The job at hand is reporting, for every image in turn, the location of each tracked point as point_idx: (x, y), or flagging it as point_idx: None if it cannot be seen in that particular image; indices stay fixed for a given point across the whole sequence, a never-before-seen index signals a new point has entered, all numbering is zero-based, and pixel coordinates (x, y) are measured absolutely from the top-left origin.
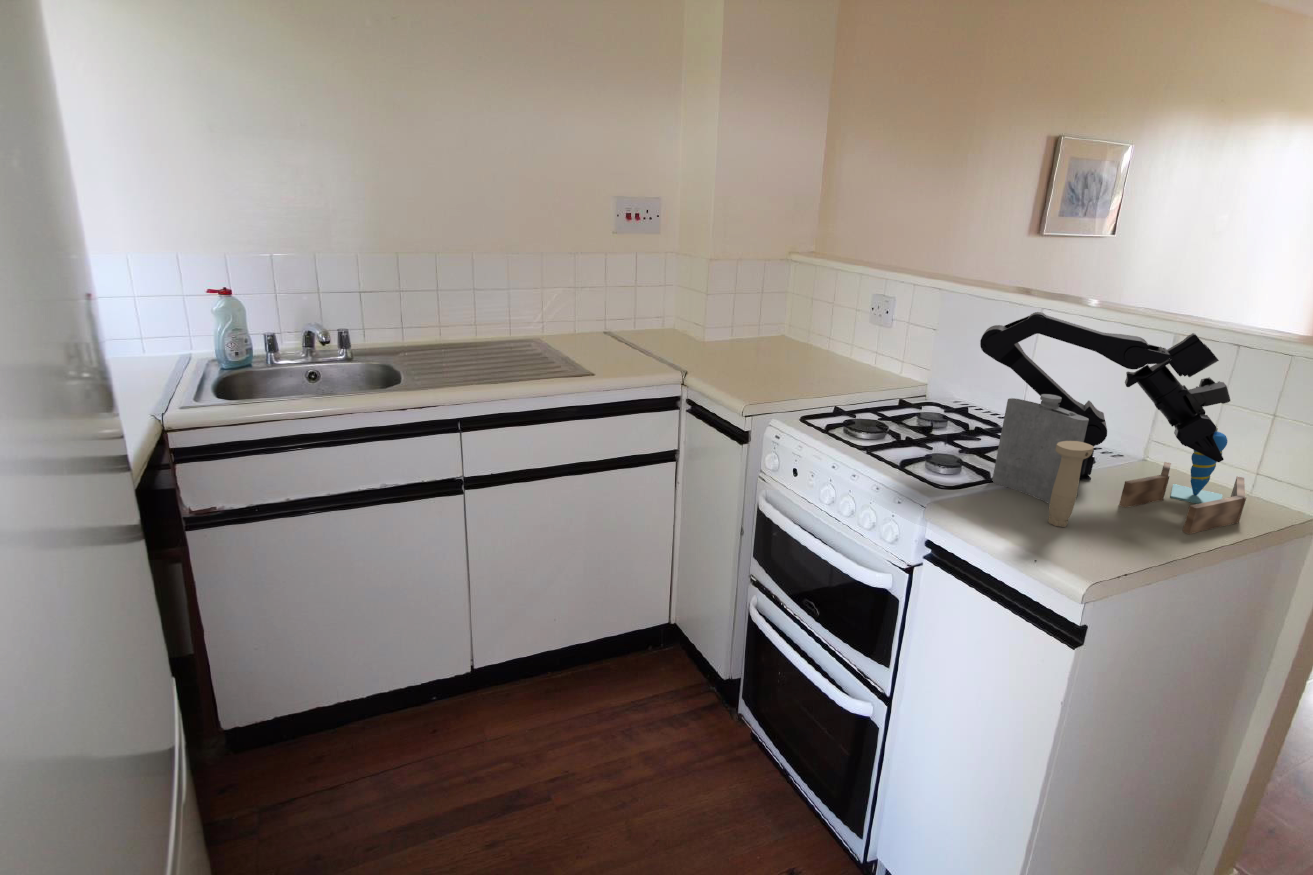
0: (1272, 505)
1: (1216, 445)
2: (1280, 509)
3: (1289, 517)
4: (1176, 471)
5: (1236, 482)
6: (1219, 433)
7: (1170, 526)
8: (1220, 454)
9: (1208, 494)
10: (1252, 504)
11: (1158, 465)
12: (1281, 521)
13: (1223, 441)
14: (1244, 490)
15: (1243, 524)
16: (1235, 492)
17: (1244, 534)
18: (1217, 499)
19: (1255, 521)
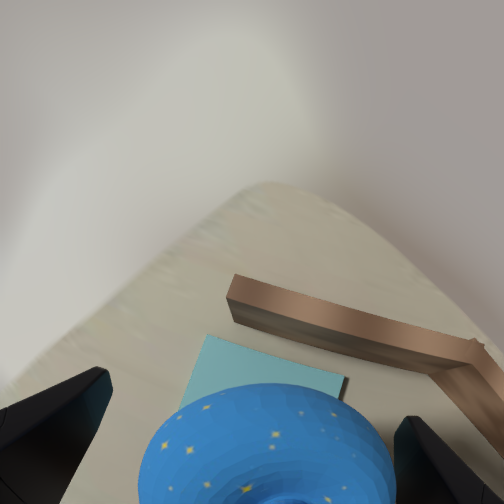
0: (236, 217)
1: (485, 486)
2: (262, 209)
3: (319, 210)
4: (30, 377)
5: (298, 321)
6: (274, 476)
7: (499, 494)
8: (439, 442)
9: (227, 382)
10: (251, 267)
11: (4, 403)
12: (363, 240)
13: (380, 439)
14: (407, 325)
15: None
16: (380, 347)
17: (491, 355)
18: (270, 368)
19: (400, 307)
